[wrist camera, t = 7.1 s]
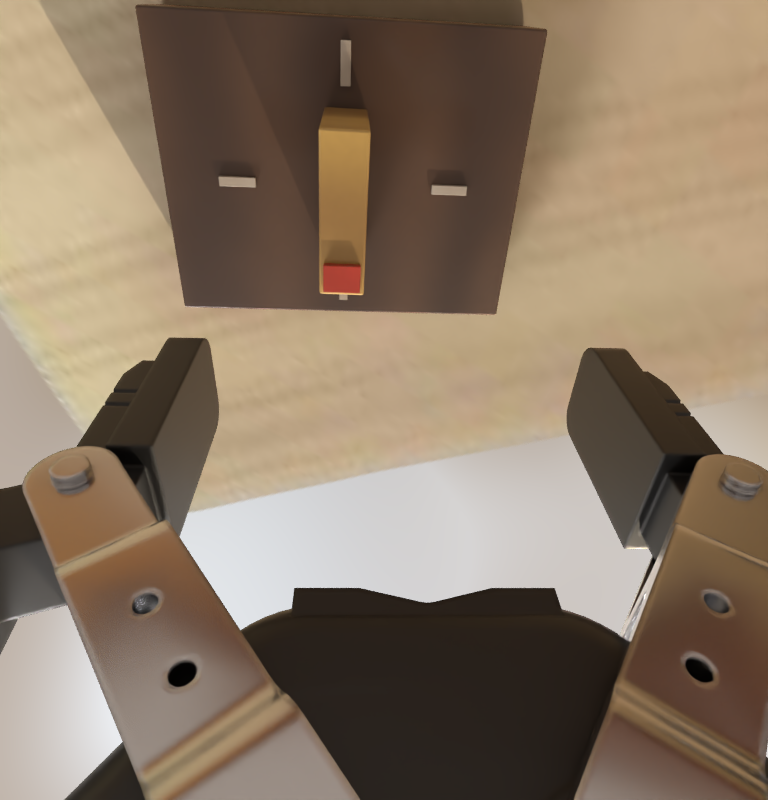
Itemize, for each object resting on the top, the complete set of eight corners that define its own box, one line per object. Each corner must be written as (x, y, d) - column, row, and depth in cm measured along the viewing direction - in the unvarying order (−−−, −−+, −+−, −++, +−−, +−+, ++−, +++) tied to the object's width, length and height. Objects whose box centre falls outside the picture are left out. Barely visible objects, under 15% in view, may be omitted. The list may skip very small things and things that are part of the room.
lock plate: (526, 26, 22) (549, 29, 19) (483, 288, 28) (496, 317, 26) (159, 4, 21) (132, 4, 19) (199, 280, 27) (183, 309, 25)
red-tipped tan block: (324, 106, 21) (317, 128, 17) (367, 109, 21) (371, 131, 17) (324, 252, 24) (318, 297, 20) (362, 253, 24) (363, 299, 20)
